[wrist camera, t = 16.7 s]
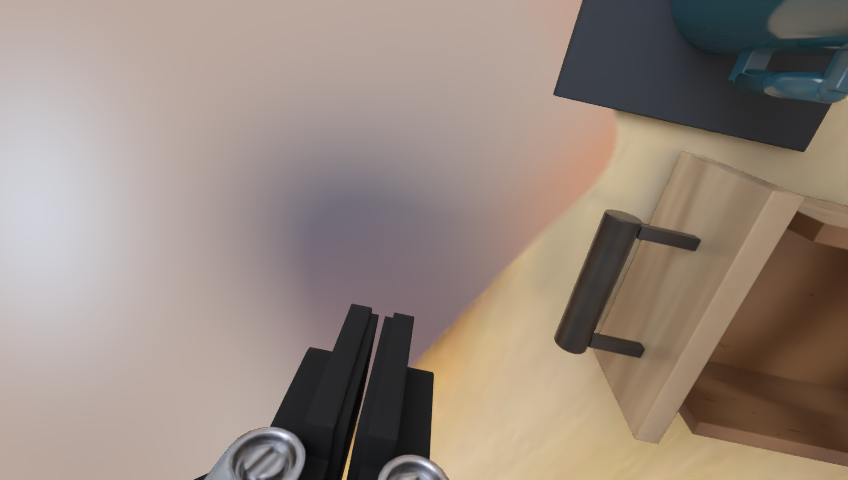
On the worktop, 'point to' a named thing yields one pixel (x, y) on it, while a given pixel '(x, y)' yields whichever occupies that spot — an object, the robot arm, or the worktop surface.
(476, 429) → the worktop surface
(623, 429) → the worktop surface
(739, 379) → the drawer
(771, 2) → the teal blue cylinder
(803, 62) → the mat
